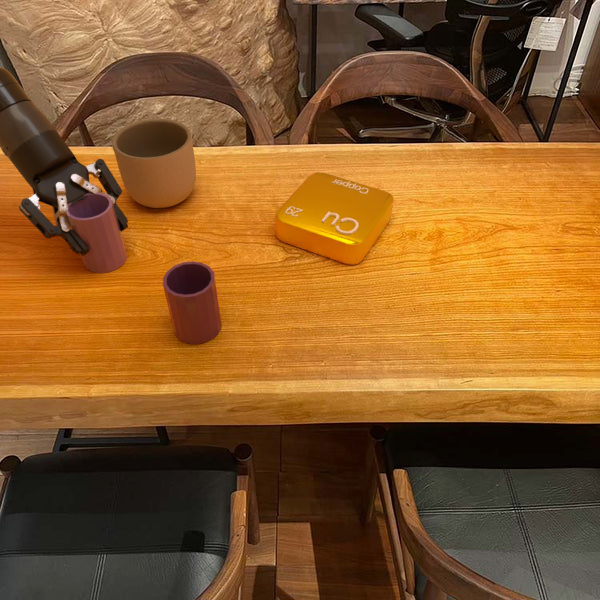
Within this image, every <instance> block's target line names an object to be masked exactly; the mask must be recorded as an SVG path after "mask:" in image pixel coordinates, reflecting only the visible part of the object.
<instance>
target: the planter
mask: <svg viewBox="0 0 600 600" xmlns="http://www.w3.org/2000/svg"><path fill="white" fill-rule="evenodd" d="M111 141H112V142H111V144H112V149H113V153H114V156H115V160H116V163H117V167H118V172H119V173H120V178H121V181H122V184H123V186H124V188H125V190H126V192H127V193H128V195H129V196H130V198H132V200H134V201H135V202H136V203H138V204H140V205H142V206H144V207H148V208H153V209H165V208H170V207H174V206H176V205H178V204H180V203H182V202H183V201H185V200H186V199H187V198H188V197H189V196H190V195H191V194H192V193H193V190H194V187H195V184H196V181H197V169H196V158H195V150H194V145H193V144H194V143H193V136H192V132H191V130H190V128H189V127H188V126H187V125H185V124H184V123H183V122H180V121H177V120H174V119H169V118H161V117H160V118H147V119H146V118H145V119H141V120H137V121H134V122H131V123H129V124H127V125H125V126H123V127H121V128H120V129H119V130H118V131H117V132H116V133H115V134H114V136H113V138H112V140H111Z"/></svg>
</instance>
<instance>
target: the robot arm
mask: <svg viewBox="0 0 600 600" xmlns="http://www.w3.org/2000/svg"><path fill="white" fill-rule="evenodd" d="M0 149H1V151H2V153H3V154H4V156H6V157H7V158H8V159H9V161H10V162H11V163H12V164H13V166H14V168H15V169H16V170H17V171H18V172H19V173H20V175H21V176H22V178H23V179H24V180H25V181H26V183H27V184H28V185H29V186H30V187H31V189H32V192H33V194H32V195H31V196H30V197H28V198H27V197H26V198H23V199H22V200H21V202H20V204H19V206H18V209H19V211H20V212H21V213H22V214H23V215H24V216H25V218H27V220H28V221H29V222H30V223H31V224H32V225H33V226H34V227H35V228H36V229H37V231H39V232H40V234H42V235H43V237H44V238H45V239H48V240H50V239H53V238H57V237H60V238H62V239H63V240H64V242H65V243H66V244H67V246H68V247H69V248H70V249H71V250H72V252H73V253H74V254H76V255H80V256H81V255H82V256H84V255H86V254H87V253H88V252H89V248H88V247H87V246H86V244H85V243H84V242H83V240H82V239H81V238H80V237H79V235H78V234H77V233H76V232H75V230H74V229H73V230H72V229H71V226H70V222H69V220H68V217H67V215H66V212H65V211H66V210H68V204H69V203H71V205H70V206H72V205H74V204H75V203H76V202H77V201H80V200H83V199H85V198H86V197H88V196H83V195H85V194H87V193H93V194H95V193H97V192H98V193H104V194H106V195H108V196H109V197H110V198H111V200H112V201H113V205H114V209H115V212H116V216H117V219H118V223H119V226H120V230H121V233H122V232H123V231H125V230H126V229H127V228H128V227H129V225H128V222H129V219H128V217H127V216H126V215H125V213H124V212H123V211H122V210H121V208H120V207H119V205H118V203H117V201H118V199H119V198H120V196H121V195H122V194H123V189H122V188H121V186H120V184H119V183H118V181H117V179H116V178H115V177H114V174H113V173H112V172H111V170H110V168H109V166H108V165H107V163H106V162H105V160H104V159H103V158H98V159H97V160H96V161H94V162H92V163H91V164H87V165H84V164H83V163H81V162H80V161H79V160H78V159H77V157H76V155H75V154H74V152H73V151H72V150H71V148H70V147H69V146H68V145H67V143H66V142H65V140H64V139H63V138H62V136H61V135H60V134H59V132H58V130H56V128H55V127H54V126H53V124H52V123H51V121H50V120H49V119H48V118H47V116H46V115H45V114H44V113H43V111H42V110H40V109H39V108H38V107H37V105H36V104H35V103H34V102H33V101H32V99H31V98H30V96H29V95H28V94H27V92H26V91H25V90H24V88H23V87H22V86H21V84H20V82H18V80H17V79H16V78H15V77H14V75H13V74H12V73H11V72H10V71H9V70H8V69H6V68H4V67H1V66H0ZM90 175H91V176H92V177H93V178H94V179H98V181H99V182H100V184H101V186H102V187H103V189H104V190H105V191H103V190H102V188H101V187H99V186H98V185H95V184H93V183H92V182H90ZM39 202H40V203H43V204H45V205H48V206H50V207H52V213H53V218H54V221H55V225H54V224H53V222H51V220H50V219H48V218H47V216H46V215H45V214H44V213H43V211H41V205H40V203H39ZM68 211H69V210H68Z"/></svg>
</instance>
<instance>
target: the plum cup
mask: <svg viewBox="0 0 600 600" xmlns="http://www.w3.org/2000/svg"><path fill="white" fill-rule="evenodd" d="M162 286H163V287H162V288H163V292H164V295H165V299H166V303H167V309H168V313H169V317H170V320H171V321H170V322H171V325H172V329H173V332H174V335H175V337H176V338H177V339H178V340H180V341H181V342H183V343H186V344H189V345H201V344H205V343H208V342H210V341H211V340H213V339H215V337H217V336H218V334H219V333H220V331H221V329H222V318H221V311H220V310H221V309H220V304H219V303H220V302H219V297H218V289H217V283H216V276H215V272H214V271H213V269H212V268H211V266H209V265H207V264H205V263H204V262H199V261H184V262H180V263H178V264H174V265H173V266H172V267H170V268H169V269H168V270H167V271H166V273H165V274H164V276H163V277H162Z"/></svg>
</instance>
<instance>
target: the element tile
mask: <svg viewBox="0 0 600 600" xmlns="http://www.w3.org/2000/svg"><path fill="white" fill-rule="evenodd" d="M393 206H394V196H393V195H392V194H391V192H389V191H386V190H383V189H380V188H377V187H373V186H369V185H366V184H363V183H359V182H356V181H353V180H350V179H346V178H342V177H339V176H336V175H333V174H329V173H326V172H320V171H319V172H318V171H317V172H314V173H312V174H310V175H309V176H308V177H307V178H306V179H305V180H304V181H303V182H302V183H301V184H300V186H298V187H297V189H296V190H295V191H293V193H292V194H291V195H290V196H289V198H288V199H286V201H285V202H284V203H283V204H281V206H280V207H279V208H278V209H277V211H276V212H275V215H274V219H275V220H274V222H275V237H276V239H278V240H279V241H280V242H282V243H284V244H287V245H291V246H293V247H296V248H299V249H302V250H304V251H307V252H311V253H314V254H316V255H319V256H322V257H325V258H327V259H331V260H333V261H336V262H339V263H341V264H344V265H357V264H360V263H362V261H364V259H365V258H366V256H367V255H368V253H369V252H370V250H371V249H372V248H373V246H374V245H375V243H376V242H377V240H378V239H379V237H380V236H381V235H382V233H383V231H385V228H387V226H388V224H389V223H390V221H391V220H392V214H393V213H392V212H393Z"/></svg>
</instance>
